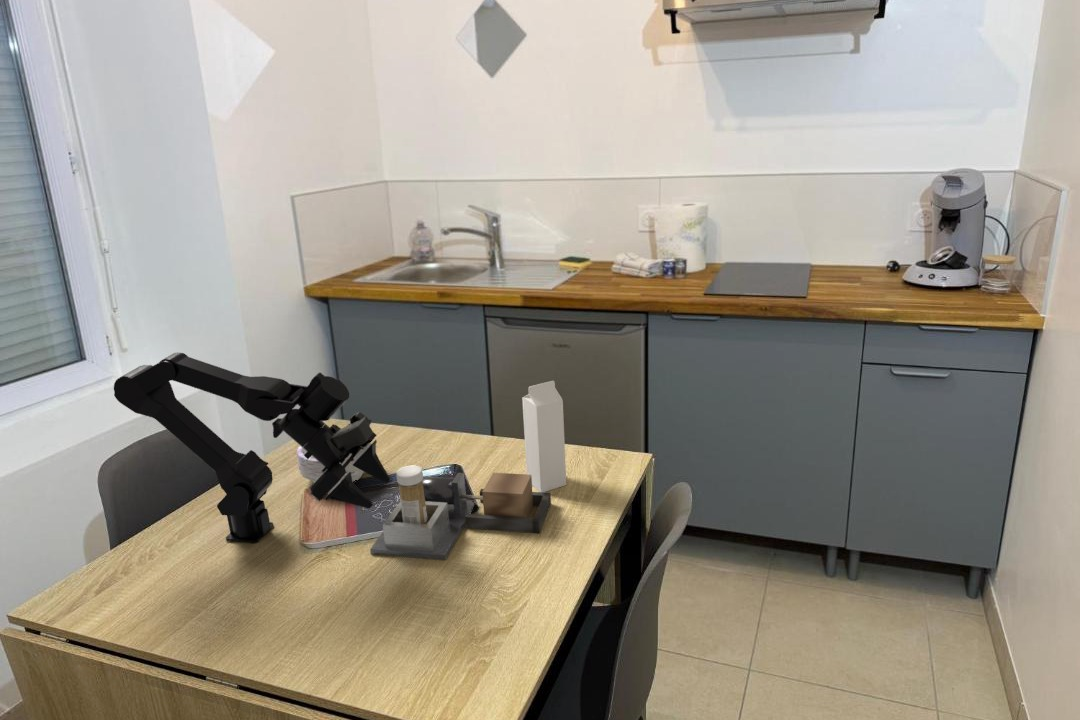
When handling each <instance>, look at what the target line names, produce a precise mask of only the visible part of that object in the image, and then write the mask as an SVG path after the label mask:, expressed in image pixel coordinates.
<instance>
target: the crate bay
mask: <svg viewBox="0 0 1080 720" xmlns="http://www.w3.org/2000/svg"><path fill="white" fill-rule="evenodd" d="M479 496H483V500H480V501H479V502H480V503H482V505H483V513H484V514H481V513H479V514H478V513H472V514H466V516H465V521H466V525H465V528H466V529H474V530H475V529H476V530H487V531H501V532H504V531H505V532H516V533H526V534H527V533H529V534H541V530H542V528H543V526H544V523H545V521H546V519H547V518H546V517H547V515H548V512H549V509H550V507H551V505H552V498H551V497H552V496H551V493H550V492H540V491H538V492H537V491H533V486H532V477H531V475H528V474H527V473H526V474H524V473H523V474H522V473H509V472H508V473H506V472H492V474H491V476H490V477H489V478H488V481H487V482H486V484H485V486H484V488H481V489H480V490H479ZM534 507H537V509H536V511H535V514H534V516H533V517H530V515H531V514H532V511H533V509H534Z"/></svg>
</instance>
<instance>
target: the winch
mask: <svg viewBox="0 0 1080 720" xmlns="http://www.w3.org/2000/svg"><path fill="white" fill-rule="evenodd" d="M465 481H466V480H465V473H464V472H457V474H456V475H455V476H454V477H437V476H425V475H423V490H424V497H425V504H426V511H427V524H414V523H403V517H402V509H401V502H400V501H399V502H398V504H397V505H396V506H395V508H393V510H392V512H391V513H390V514H389V515H388V517H387V519H386V520H385V521H384V522H383V524H382V531H381V534H380V535H379V536H378V538H377V539H376V541H375V542H374V543H373V545H372V546H371V547H370V549H369V551H370V555H381V556H393V557H394V556H395V557H404V558H415V559H419V558H420V559H428V560H440V561H446V560H447V559H448V556H449V555H450V553H451V551H452V549H453V547H454V546H455V545H456V542H457V540H458V539H459V537H460V535H461V533H462V532H463V530H464V528H465V527H466V521H465V516H466V514H469V513H470V511H471V509H472V507H473V505H474V503H476V504H477V501H476V500H483V496H480V495H473V494H472V495H471V494H467V493H466V492H467V491H466V482H465ZM472 501H474V503H473V502H472Z"/></svg>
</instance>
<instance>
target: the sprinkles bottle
mask: <svg viewBox="0 0 1080 720" xmlns="http://www.w3.org/2000/svg"><path fill="white" fill-rule="evenodd" d="M423 476H424V474H423V469H422V467H421V466H419V465H412V464H411V465H406V466H402V467H400V468H399V469H398V470H397V471H396V482H397V484H398V489H399V491H398V492H399V502H401V509H402V517H403V523H414V524H427V511H426V504H425V497H424V490H423Z"/></svg>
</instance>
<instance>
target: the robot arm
mask: <svg viewBox="0 0 1080 720" xmlns="http://www.w3.org/2000/svg"><path fill="white" fill-rule="evenodd" d="M114 381H115V382H114V383H113V395H114V398H115V399H116V400H117V401H118V402H119V403H120V404H121V405H122V406H124V407H125V408H127V409H129V410H130V411H131V412H133V413H134V414H138V415H141V416H145V417H149V418H152V419H154V420H155V421H157V422H158V423H159V424H160V425H161V426H163V427H164V428H165V429H166V430H167V431H168V432H169V433H170V434H172V435H173V436H174V437H175V438H177V439H178V441H180V442H181V443H182V444H183V445H184V446H186V448H188V449H189V450H190V451H191V452H192V453H193V454H195V455H196V456H197V457H198V458H199V459H200V460H201V461H203V462H204V463H205V464H206V465H207V466H208V467H210V469H212V470H213V471H214V473H215V475H216V477H217V480H218V484H219V487H220V488H221V489H222V490H223V492H224V493H225V494H226V495H225V496H224V497H223V498H222V499H220V501H219V502H218V503H217V505H216V507H217V510H218V511H219V513H220V515H221V516H226V518H227V522H228V528H229V533H228V534H227V535H226V536H225V540H226V541H229V542H244V543H251V544H252V543H254V544H255V543H258V542H259V541H260V540H261V538H263V537H264V536H265V534H267V532H269V531H270V529H271V528H272V527H274V522H271V521H270V516H269V511H268V508H266V505H265V501H264V500H263V499H261V498H263V497H264V495H266V494H267V492H268V489H269V488H270V487H271V485H272V484H273V471H272V470H271V468H270V467H269V466H268V465H269V463H268V462H267V461H265V460H263V459H262V458H261V457H260V456H259V455H258V454H257V453H256V452H255V451H254V450H252V449H250V450H249V451H248V452H247V453H242V452H239V451H236V449H235V450H234V449H233V448H232V447H231V446H230V444H228V443H226V442H225V441H224V440H223V439H222V438H221V437H220V436H219V435H218V434H217V433H215V432H214V431H213V430H212V429H211V427H210V428H209V426H207V425H206V424H205V423H204V422H203V421H202V420H201V419H199V418H198V417H197V416H196V415H195V414H194V413H193V412H191V410H189V408H187V407H186V406H185V405H184V404H182V402H180V401H179V400H178V399H177V398H176V396H175V392H174V390H173V387H172V384H171V383H170V381H171V382H172V381H173V382H177V383H180V384H182V385H184V386H185V385H186V386H187V387H191V388H194V389H197V390H199V391H200V390H201V391H204V392H206V393H209V394H212V395H215V396H218V397H221V398H224V399H227V400H229V401H232V402H234V403H236V404H237V405H239V407H240V408H242V410H243V411H244V412H245V413H247V414H248V415H251V416H253V417H254V418H257V419H259V420H261V421H265V422H271V421H273V420H274V419H276V420H274V421H273V422H272V436H273V438H274V439H277V438H278V437H279V436H280V435H282V434H283V432H284V433H285V434H286V435H287V436H288V437H289V438H291V439H292V440H293V441H294V442H296V444H297V445H298V446H301V447H302V448H304V449H305V450H306V451H307V453H306V454H305V455H304V456H305V457H306V458H307V459H309V458H310V457H311V456H313V457H314V458H315V459H316V460H317V461H318V462H320V463H321V464H322V465H323V466H324V469H323V470H322V472H323V474H322V475H321V476H320V477H319V478H318V479H317V480H316V481H315V483H314V482H313V483H312V485H311V486H310V488H309V490H310V495H311V496H312V497H314V499H316V500H317V501H318V502H321V500H322V499H323V498H324V497H325V498H324V501H326V502H327V501H328V500H331V501H338V502H341V503H347V504H350V505H354V506H358V507H362V508H365V509H370V508H372V507H373V505H374V504H373V502H372V500H371V499H370V498H369V497H368V496H367V495H366V494H365V493H364V492H363V491H362V490H361V489H360V488H359V487H358V486H357V485H356V484H355V482H354V483H353V482H352V476H351V472H349V473H348V474H347V475H344V474H345V473H346V470H345V468H346V466H347V465H348V464H349V463H350V462H351V461H353V460H355V462H354V463H353V466H355V467H356V468H358V469H360V470H362V471H364V473H365V474H367V475H369V476H371V477H374V479H377V480H378V481H381V482H383V483H385V484H387V483H389V482H390V481H391V477H390V475H389V474H388V472H387V470H386V468H385V467H384V465H383V464H382V462H381V460H380V459H379V456H378V454H377V449H376V447H377V443H378V441H377V439H375V438H376V437H377V434H376V433H375V432H374V431H373V429H372V428H371V424H372V420H371V419H370V418H368V417H367V416H366V415H364V413H362V412H360V411H358V412H357V413H354V414H353V415H352V416H351V417H350V418H349V423H347V425H346V426H344V427H342V428H341V427H339V425H337V424H332V425H331V426H329V425H328V424H327V423H326V422H327V421H330V419H331V418H332V417H333V416H334V415H335V414H336V413H337V412H338V410H340V409H341V407H343V405H344V404H345V403H346V401H348V399H349V398H350V392H349V389H348V387H347V386H346V385H345V384H344V383H343V382H342V381H341V380H340V379H336V378H334V377H333V376H326V375H324V374H323V373H322V372H318V373H317V374H315V376H314V377H313V378H311V380H310V381H309V384H308V385H307V386H306V385H299V384H293V383H289V382H288V381H286V380H285V379H282V378H277V377H270V376H265V375H263V376H260V375H259V376H249V375H243V374H240V373H237V372H235V371H232V370H229V369H225V368H222V367H220V366H217V365H214V364H210V363H208V362H205V361H202V360H199V359H196V358H192V357H191V356H188V355H187V354H185V352H173V353H171V354H170V355H168V356H167V357H165V358H163V359H161V360H160V361H159V362H158V363H156V364H154V365H151V364H148V365H147V364H143V365H139V366H137V367H135V368H134V369H132V370H131V371H129V372H127V373H125V374H123V375H122V376H121V375H120V377H119V378H117V379H116V380H114ZM297 405H298V406H299V408H295V407H296V406H297ZM280 415H284V416H283V417H282V418H278V417H279V416H280ZM373 440H374V441H373ZM340 463H341V464H340Z"/></svg>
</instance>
